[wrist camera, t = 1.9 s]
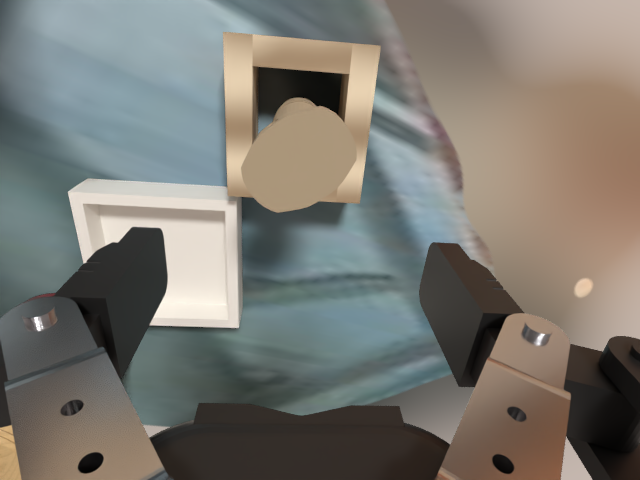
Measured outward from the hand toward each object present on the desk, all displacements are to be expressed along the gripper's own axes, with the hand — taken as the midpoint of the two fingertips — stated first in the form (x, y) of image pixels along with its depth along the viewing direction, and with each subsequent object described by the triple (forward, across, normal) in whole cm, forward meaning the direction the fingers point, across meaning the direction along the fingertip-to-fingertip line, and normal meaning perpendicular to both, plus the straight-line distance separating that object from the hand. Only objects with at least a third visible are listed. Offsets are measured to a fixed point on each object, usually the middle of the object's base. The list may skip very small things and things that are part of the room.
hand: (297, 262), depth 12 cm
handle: (+26, 0, 0) cm, 26 cm away
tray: (+26, +12, +14) cm, 31 cm away
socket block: (+26, 0, 0) cm, 26 cm away
